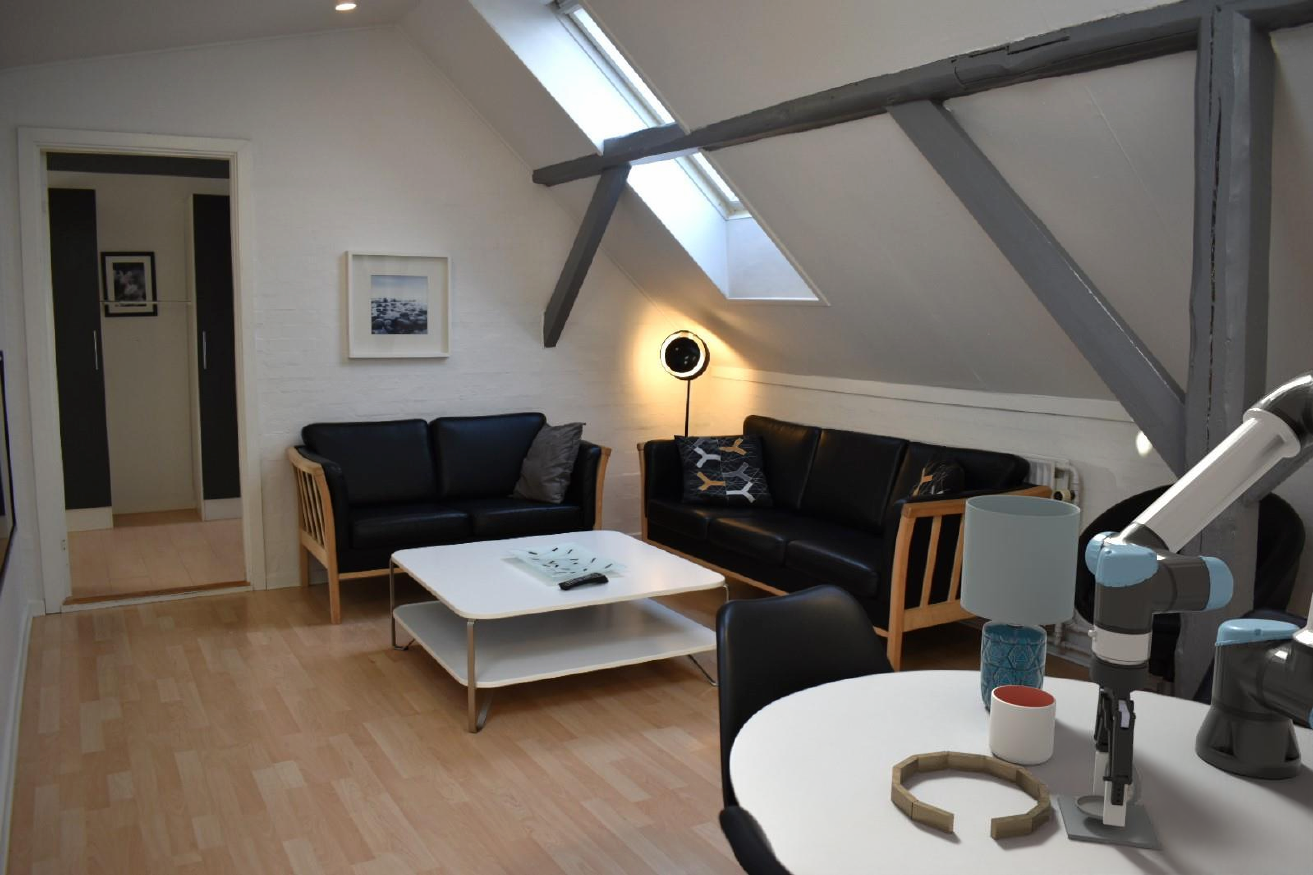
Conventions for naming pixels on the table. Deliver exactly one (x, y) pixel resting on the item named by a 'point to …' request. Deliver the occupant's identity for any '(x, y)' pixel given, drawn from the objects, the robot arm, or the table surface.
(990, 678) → the lamp
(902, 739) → the table surface
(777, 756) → the table surface
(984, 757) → the c ring
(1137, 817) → the coaster
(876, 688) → the table surface
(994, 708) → the cup
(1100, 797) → the pocket watch
